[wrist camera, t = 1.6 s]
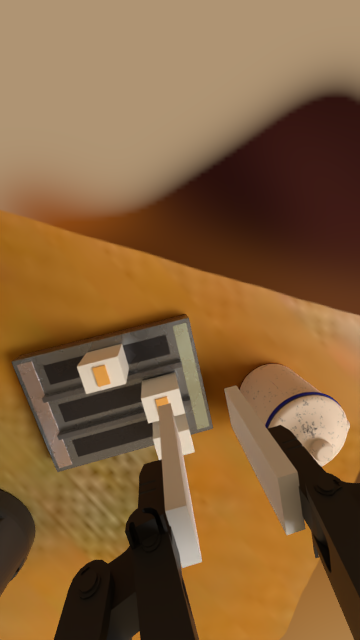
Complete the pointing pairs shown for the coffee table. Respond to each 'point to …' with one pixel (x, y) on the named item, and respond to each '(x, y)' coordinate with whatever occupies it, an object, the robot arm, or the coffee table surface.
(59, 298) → the coffee table surface
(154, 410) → the breaker
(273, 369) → the teacup with lid
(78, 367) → the breaker
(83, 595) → the robot arm
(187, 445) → the breaker
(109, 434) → the panel
